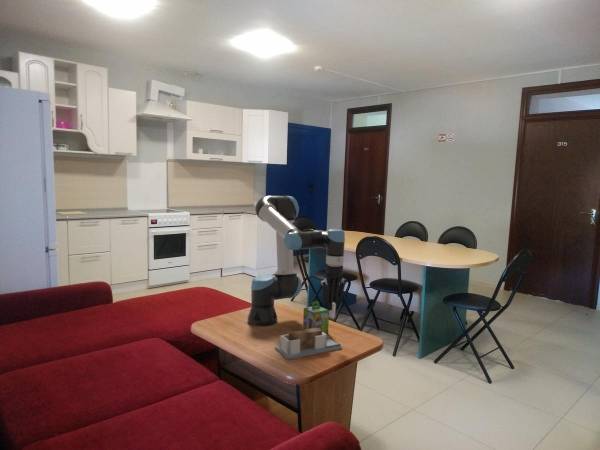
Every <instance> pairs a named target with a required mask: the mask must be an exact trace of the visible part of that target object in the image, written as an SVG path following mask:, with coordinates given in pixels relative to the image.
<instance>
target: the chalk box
mask: <svg viewBox="0 0 600 450" xmlns="http://www.w3.org/2000/svg"><path fill="white" fill-rule="evenodd" d="M310 304H311V306H308V307H304V308H303V318H302V319H303V320H302V321H303V322H302V325H303V326H302V330H305V329H311V328H319V329H321V330H322V332H323V333H325V334H327V335H328V334H329V322H330V321H329V319H330V316H329V310H328V308H325V307H322V306H320V301H319V300H317V301H316V300H315V301H312V302H311V303H310Z"/></svg>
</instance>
